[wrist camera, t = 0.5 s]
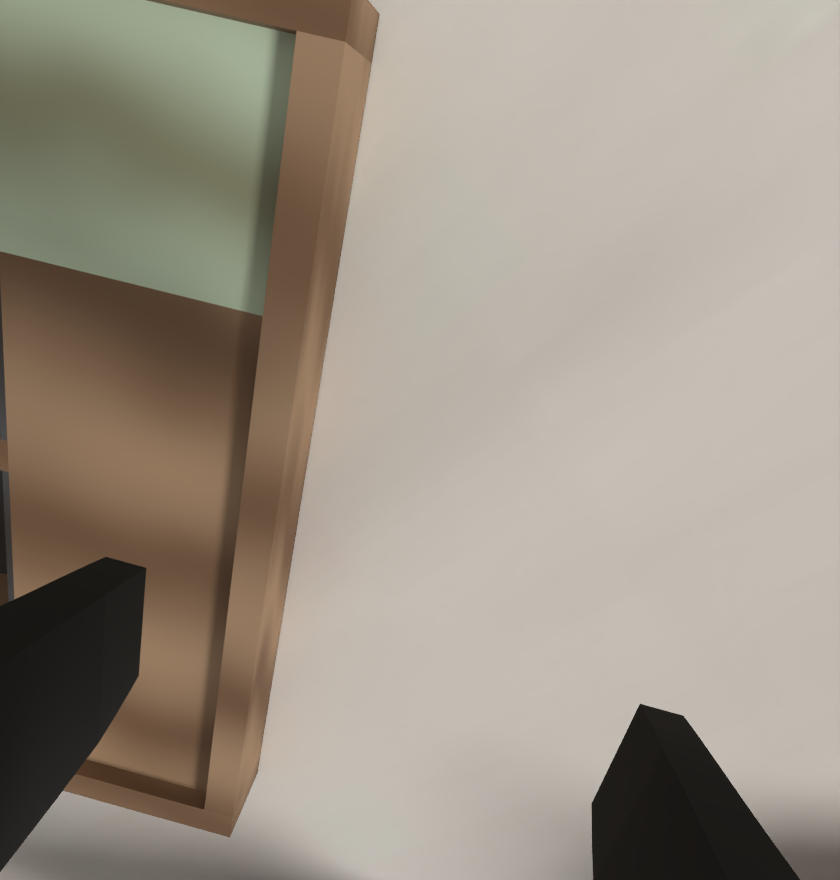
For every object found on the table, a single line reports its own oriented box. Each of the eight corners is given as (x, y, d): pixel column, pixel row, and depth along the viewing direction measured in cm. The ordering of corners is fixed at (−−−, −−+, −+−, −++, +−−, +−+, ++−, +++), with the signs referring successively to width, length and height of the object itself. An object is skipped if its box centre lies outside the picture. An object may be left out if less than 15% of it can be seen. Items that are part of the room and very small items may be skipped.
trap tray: (257, 772, 25) (229, 837, 22) (-137, 664, 25) (-206, 715, 23) (379, 14, 15) (354, -18, 12) (-271, -134, 15) (-414, -190, 13)
